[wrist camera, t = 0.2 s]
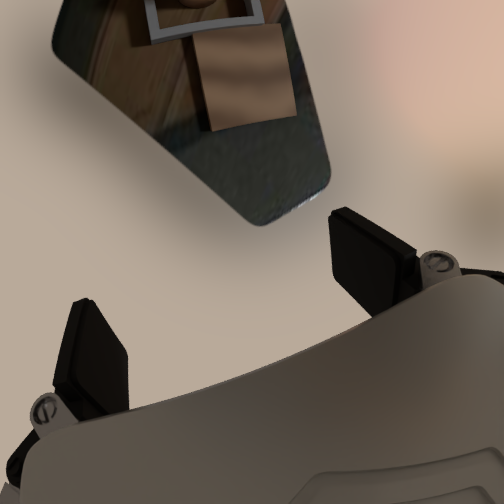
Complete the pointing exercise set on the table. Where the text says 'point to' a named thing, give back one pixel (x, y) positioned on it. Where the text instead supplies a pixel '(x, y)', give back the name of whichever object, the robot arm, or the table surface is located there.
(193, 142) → the table surface
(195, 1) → the tan tapered capsule
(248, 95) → the board
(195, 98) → the table surface
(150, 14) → the holder frame
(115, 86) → the table surface
